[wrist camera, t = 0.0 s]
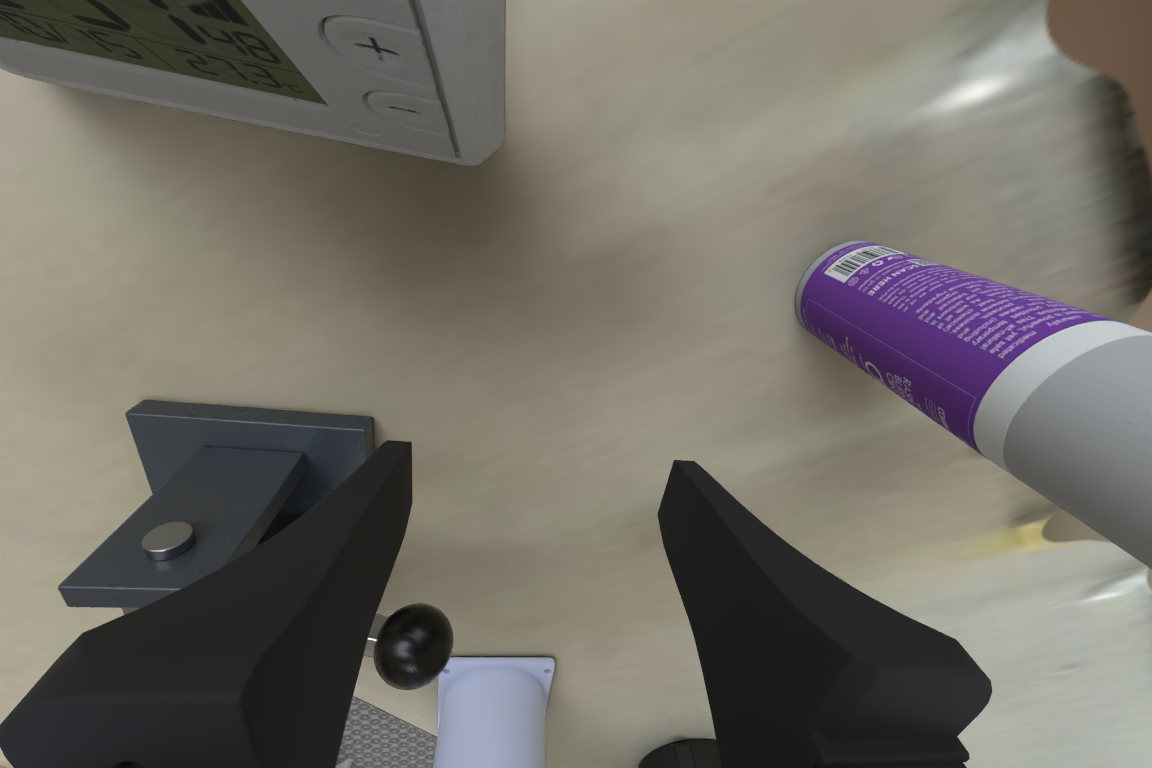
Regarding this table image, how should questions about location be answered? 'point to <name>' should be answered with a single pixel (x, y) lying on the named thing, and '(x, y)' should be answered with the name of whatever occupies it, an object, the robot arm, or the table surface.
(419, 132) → the digital clock
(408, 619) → the switch lever
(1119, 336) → the container
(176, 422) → the switch bracket
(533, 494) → the table surface
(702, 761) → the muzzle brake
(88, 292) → the table surface
